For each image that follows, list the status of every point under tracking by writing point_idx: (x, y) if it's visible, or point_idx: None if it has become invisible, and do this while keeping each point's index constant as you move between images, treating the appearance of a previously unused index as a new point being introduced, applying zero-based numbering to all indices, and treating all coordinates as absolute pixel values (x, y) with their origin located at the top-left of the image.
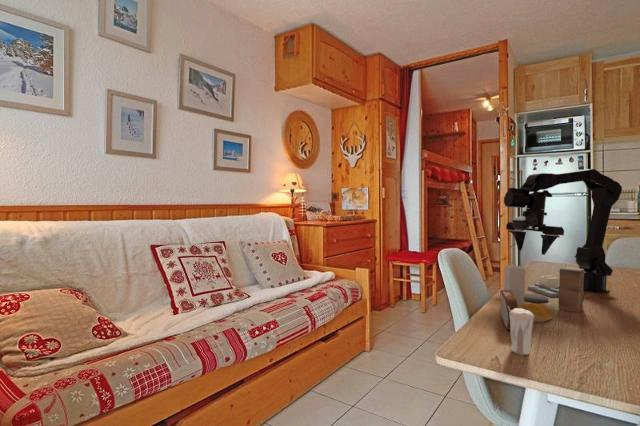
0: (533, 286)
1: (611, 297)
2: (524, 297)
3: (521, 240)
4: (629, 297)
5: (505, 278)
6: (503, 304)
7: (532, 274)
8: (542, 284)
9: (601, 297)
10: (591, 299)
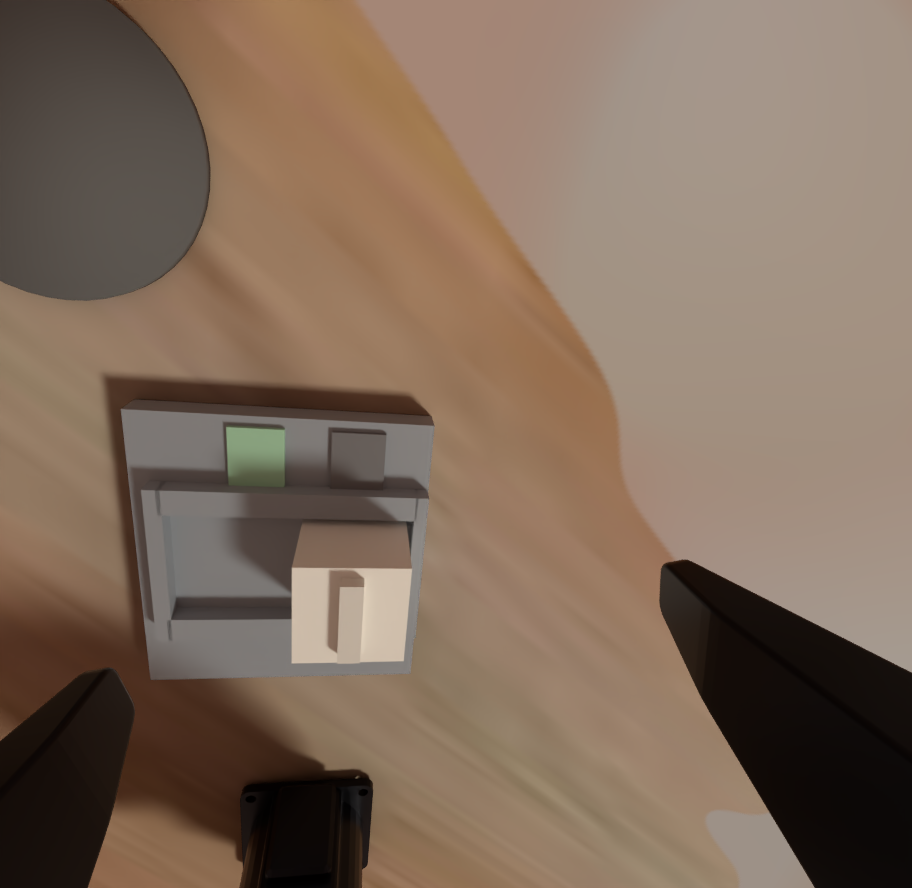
0: (379, 441)
1: (119, 798)
2: (28, 35)
3: (834, 824)
4: (118, 882)
5: None
6: None
7: None
8: (368, 528)
9: None
10: (59, 650)
